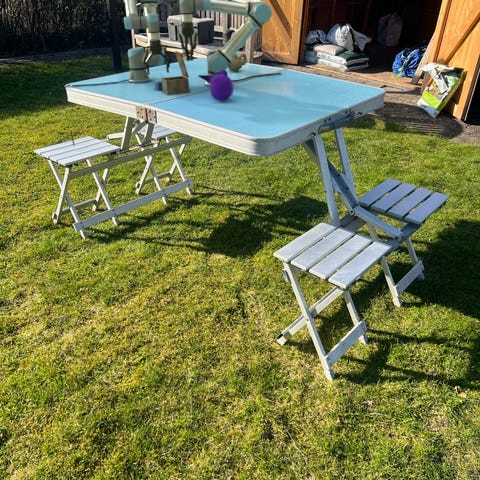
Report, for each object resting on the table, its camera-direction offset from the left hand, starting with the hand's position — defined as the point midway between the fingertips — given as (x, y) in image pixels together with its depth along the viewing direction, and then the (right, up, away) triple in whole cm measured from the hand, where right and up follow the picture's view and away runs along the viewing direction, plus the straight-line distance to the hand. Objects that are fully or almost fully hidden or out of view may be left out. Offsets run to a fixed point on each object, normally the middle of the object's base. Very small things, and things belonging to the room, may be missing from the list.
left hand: (158, 73), depth 307 cm
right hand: (+23, +6, -8) cm, 25 cm away
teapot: (+52, +24, +61) cm, 84 cm away
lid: (+17, +3, -9) cm, 19 cm away
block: (0, -9, +5) cm, 11 cm away
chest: (+12, -13, -2) cm, 18 cm away
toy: (+42, -24, -21) cm, 53 cm away
